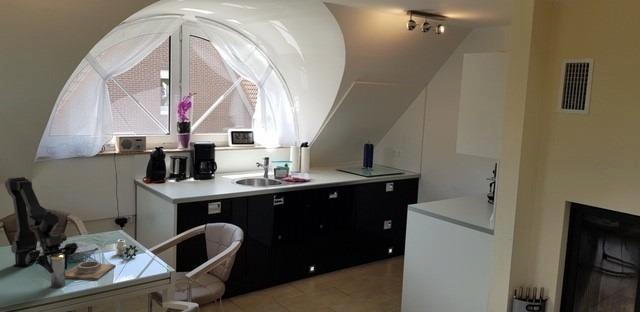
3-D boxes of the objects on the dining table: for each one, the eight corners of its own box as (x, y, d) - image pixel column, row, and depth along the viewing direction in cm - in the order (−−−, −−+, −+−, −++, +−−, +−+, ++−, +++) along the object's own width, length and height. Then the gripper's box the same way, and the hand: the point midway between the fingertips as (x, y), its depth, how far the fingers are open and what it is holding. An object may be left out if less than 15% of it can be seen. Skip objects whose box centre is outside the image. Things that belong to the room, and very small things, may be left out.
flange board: (61, 277, 213) (60, 269, 212) (81, 264, 228) (81, 257, 228) (97, 280, 212) (97, 272, 211) (115, 266, 227) (115, 259, 227)
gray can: (48, 287, 202) (47, 257, 200) (55, 282, 207) (54, 253, 205) (60, 288, 202) (59, 258, 200) (67, 283, 207) (67, 254, 205)
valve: (112, 254, 244) (124, 260, 236) (112, 241, 243) (124, 246, 235) (125, 251, 249) (138, 257, 241) (125, 238, 248) (137, 244, 240)
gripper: (27, 232, 197) (40, 266, 191) (75, 223, 211) (88, 255, 205) (19, 247, 203) (32, 280, 197) (67, 237, 217) (80, 268, 211)
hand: (59, 270), depth 203 cm, fingers closed on gray can, 5 cm apart
